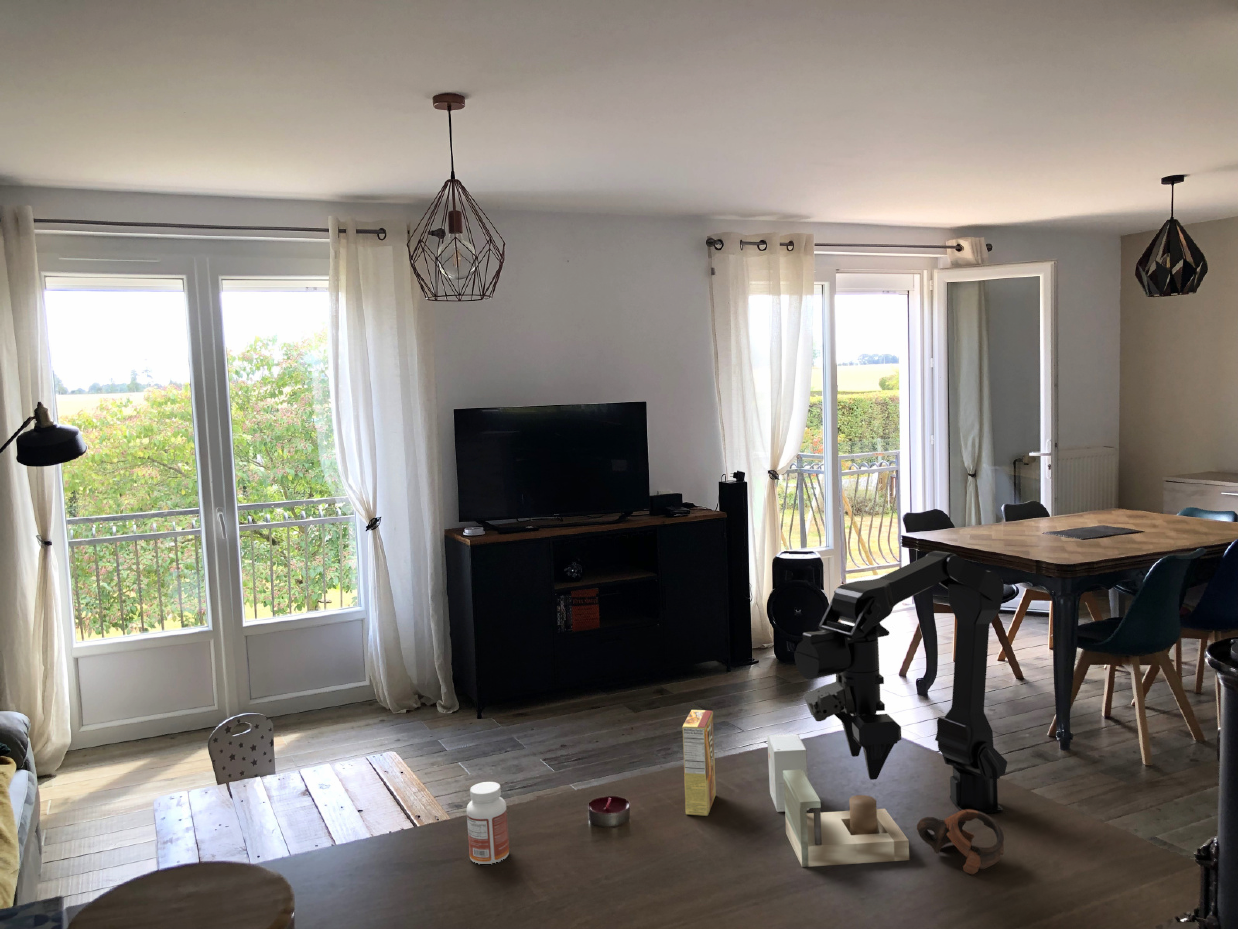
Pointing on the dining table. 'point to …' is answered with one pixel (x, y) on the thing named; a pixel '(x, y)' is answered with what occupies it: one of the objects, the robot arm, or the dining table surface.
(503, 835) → the pill bottle
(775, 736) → the small box
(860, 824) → the peg
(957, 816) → the pottery mug
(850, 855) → the shelter
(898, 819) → the dining table surface
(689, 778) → the candy box
